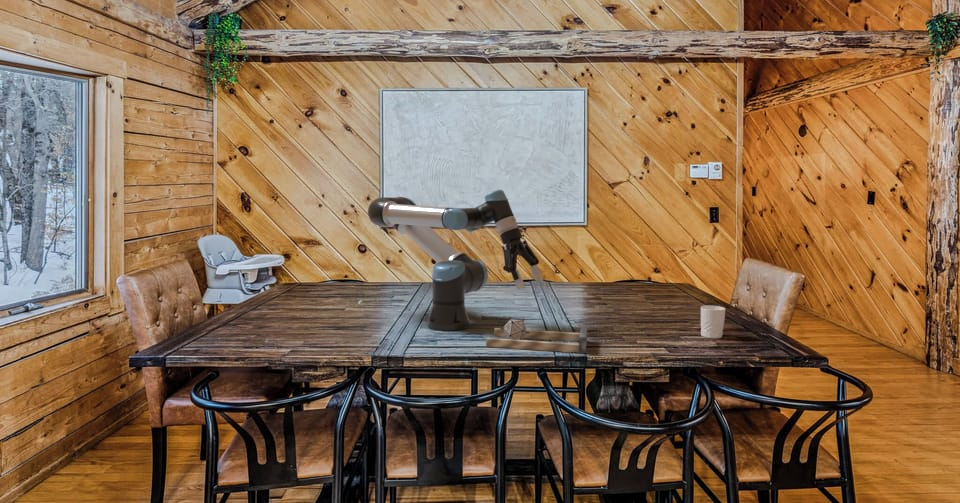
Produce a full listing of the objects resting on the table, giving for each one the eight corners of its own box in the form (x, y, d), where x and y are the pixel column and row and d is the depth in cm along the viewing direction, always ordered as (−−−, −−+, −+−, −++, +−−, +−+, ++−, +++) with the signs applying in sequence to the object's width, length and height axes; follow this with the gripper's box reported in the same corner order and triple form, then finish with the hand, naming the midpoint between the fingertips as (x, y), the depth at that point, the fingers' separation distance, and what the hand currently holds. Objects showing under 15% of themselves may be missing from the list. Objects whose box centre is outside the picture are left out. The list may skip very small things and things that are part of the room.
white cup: (722, 334, 196) (724, 306, 195) (724, 339, 189) (726, 310, 188) (698, 332, 199) (700, 304, 198) (699, 337, 192) (701, 309, 190)
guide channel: (486, 346, 178) (486, 331, 177) (495, 334, 192) (495, 320, 192) (585, 353, 171) (585, 337, 171) (586, 340, 186) (587, 326, 185)
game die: (519, 352, 185) (538, 328, 184) (510, 349, 177) (530, 324, 177) (500, 335, 189) (518, 312, 189) (491, 332, 181) (510, 307, 181)
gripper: (498, 229, 191) (521, 287, 188) (533, 224, 212) (555, 276, 209) (482, 237, 195) (504, 294, 193) (518, 232, 216) (539, 283, 213)
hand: (531, 285), depth 201 cm, fingers open, 13 cm apart
